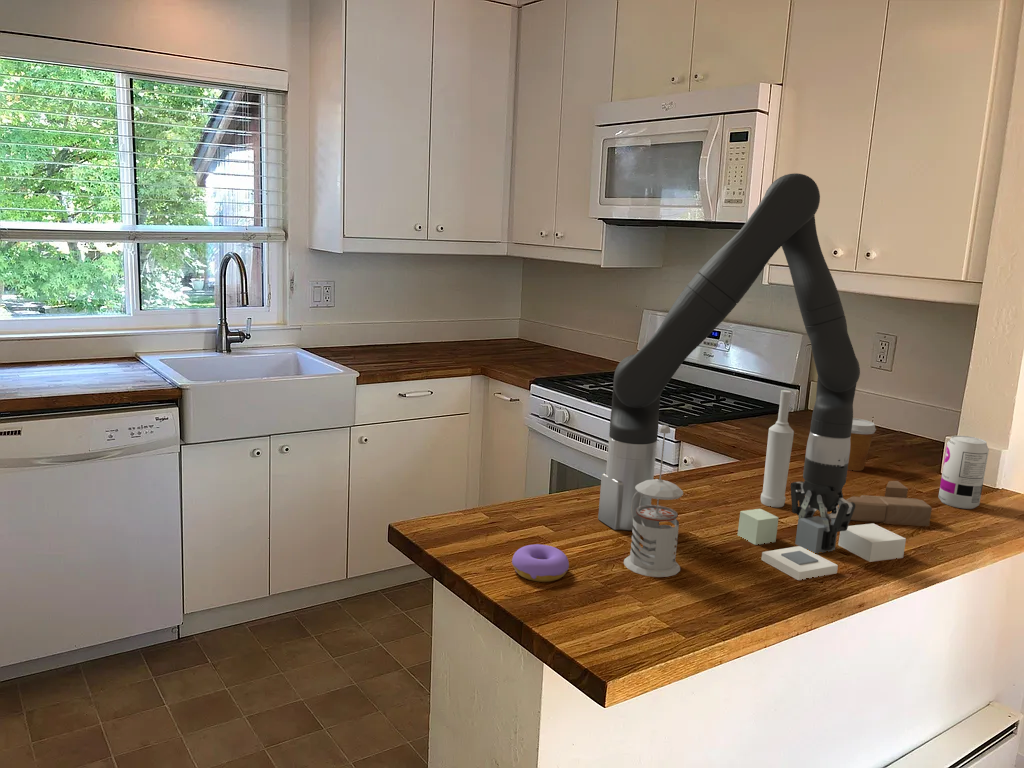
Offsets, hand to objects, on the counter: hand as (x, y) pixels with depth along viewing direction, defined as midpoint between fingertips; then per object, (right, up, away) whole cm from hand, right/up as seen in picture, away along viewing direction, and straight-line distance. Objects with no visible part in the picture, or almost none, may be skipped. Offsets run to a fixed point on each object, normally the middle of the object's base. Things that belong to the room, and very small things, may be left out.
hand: (815, 543), depth 156 cm
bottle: (-1, +4, +24) cm, 24 cm away
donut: (-53, -2, -18) cm, 56 cm away
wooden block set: (+21, +2, +24) cm, 32 cm away
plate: (-6, -2, -10) cm, 12 cm away
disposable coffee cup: (+29, +9, +56) cm, 64 cm away
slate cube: (0, -1, 0) cm, 1 cm away
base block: (+10, -2, 0) cm, 10 cm away
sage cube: (-10, 0, +3) cm, 11 cm away
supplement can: (+44, +3, +31) cm, 54 cm away
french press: (-33, -1, -12) cm, 35 cm away
